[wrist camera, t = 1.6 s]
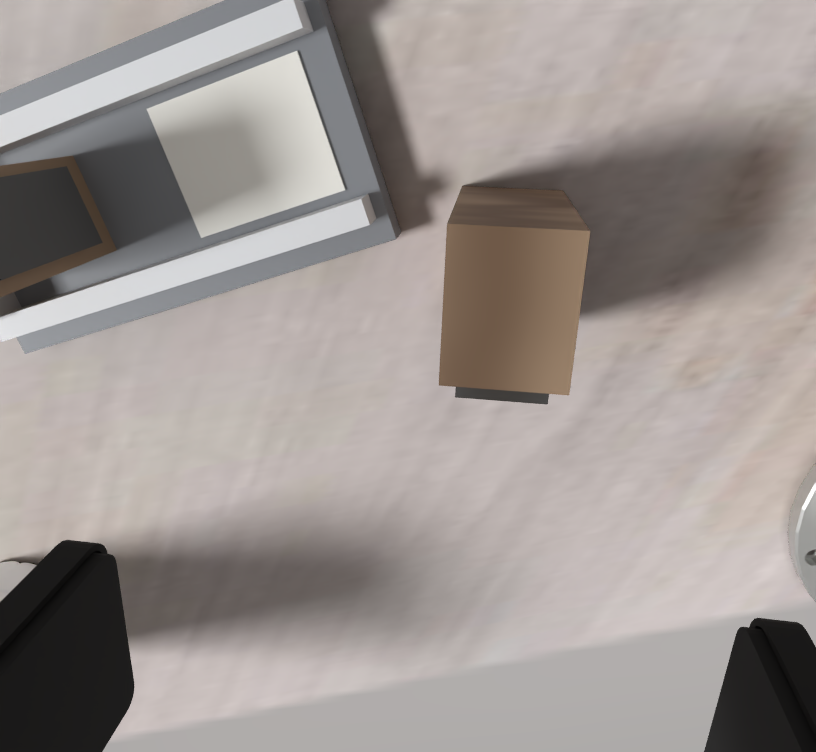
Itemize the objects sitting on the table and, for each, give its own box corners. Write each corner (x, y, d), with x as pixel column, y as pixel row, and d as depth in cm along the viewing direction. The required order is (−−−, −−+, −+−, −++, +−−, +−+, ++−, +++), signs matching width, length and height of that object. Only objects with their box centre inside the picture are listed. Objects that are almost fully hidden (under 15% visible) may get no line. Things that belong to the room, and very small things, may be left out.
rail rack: (316, -27, 26) (207, -100, 16) (401, 232, 29) (352, 300, 19) (-67, 131, 30) (-339, 147, 20) (45, 343, 33) (-143, 445, 23)
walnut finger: (562, 190, 28) (590, 231, 19) (547, 329, 30) (566, 418, 22) (462, 185, 28) (446, 223, 20) (454, 322, 30) (437, 408, 22)
